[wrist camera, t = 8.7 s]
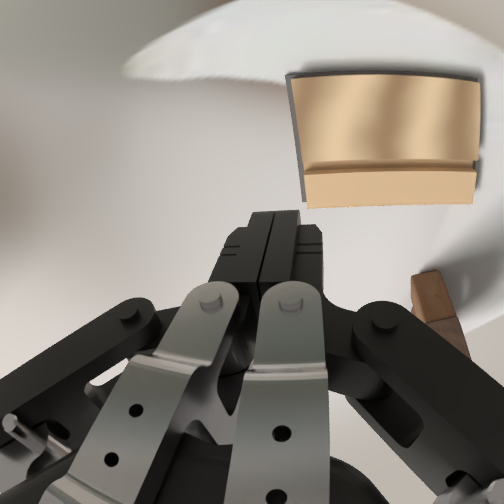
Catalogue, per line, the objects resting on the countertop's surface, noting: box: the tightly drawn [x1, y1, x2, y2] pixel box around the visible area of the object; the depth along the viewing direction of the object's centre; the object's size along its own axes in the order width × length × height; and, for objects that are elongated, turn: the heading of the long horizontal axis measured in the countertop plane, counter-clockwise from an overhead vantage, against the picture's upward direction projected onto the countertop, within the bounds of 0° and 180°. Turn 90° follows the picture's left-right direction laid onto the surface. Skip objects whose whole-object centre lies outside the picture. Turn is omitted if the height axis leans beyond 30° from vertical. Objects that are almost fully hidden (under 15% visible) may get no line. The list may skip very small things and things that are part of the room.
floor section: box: [285, 71, 477, 209], centre depth 23 cm, size 17×12×2 cm
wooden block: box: [411, 270, 471, 360], centre depth 26 cm, size 4×11×18 cm, turn 20°
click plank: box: [291, 74, 480, 163], centre depth 22 cm, size 16×7×1 cm, turn 100°
